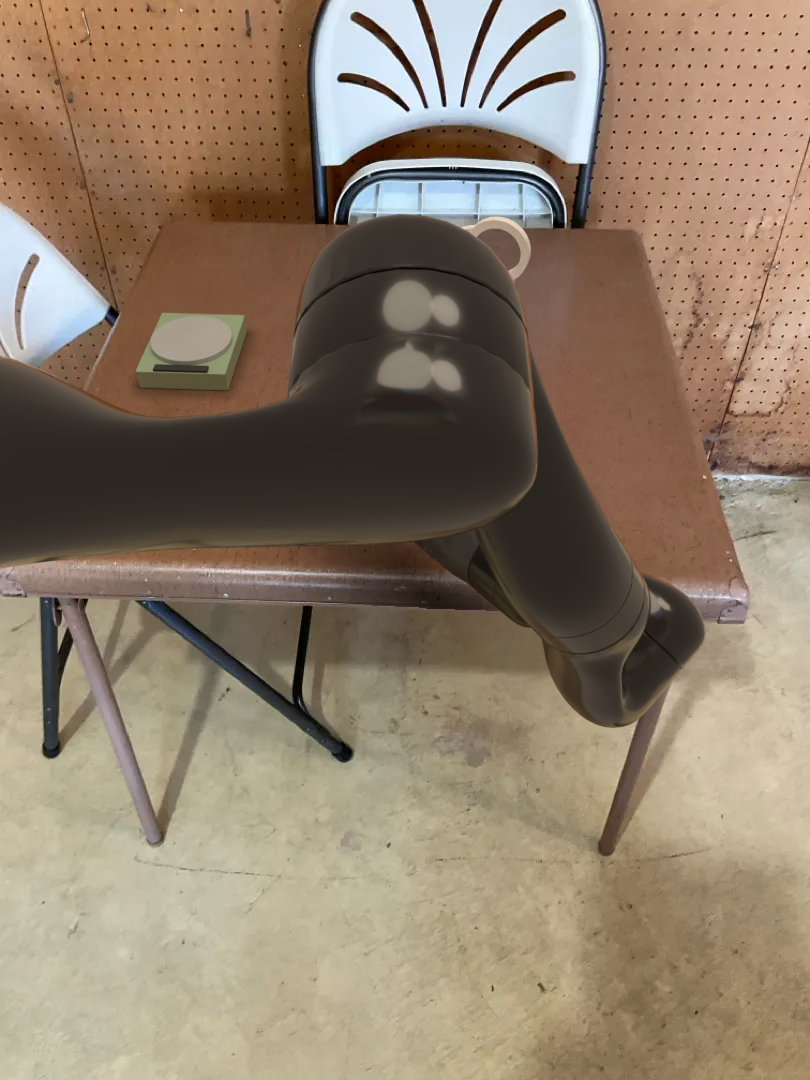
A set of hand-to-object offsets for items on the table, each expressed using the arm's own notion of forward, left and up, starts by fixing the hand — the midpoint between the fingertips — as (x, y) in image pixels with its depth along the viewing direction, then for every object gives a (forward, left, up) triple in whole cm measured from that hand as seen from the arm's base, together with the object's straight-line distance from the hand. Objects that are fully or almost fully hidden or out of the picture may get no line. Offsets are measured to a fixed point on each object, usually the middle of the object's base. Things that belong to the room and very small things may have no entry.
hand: (331, 415), depth 74 cm
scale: (-3, +30, -10) cm, 32 cm away
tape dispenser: (+19, +8, -11) cm, 23 cm away
